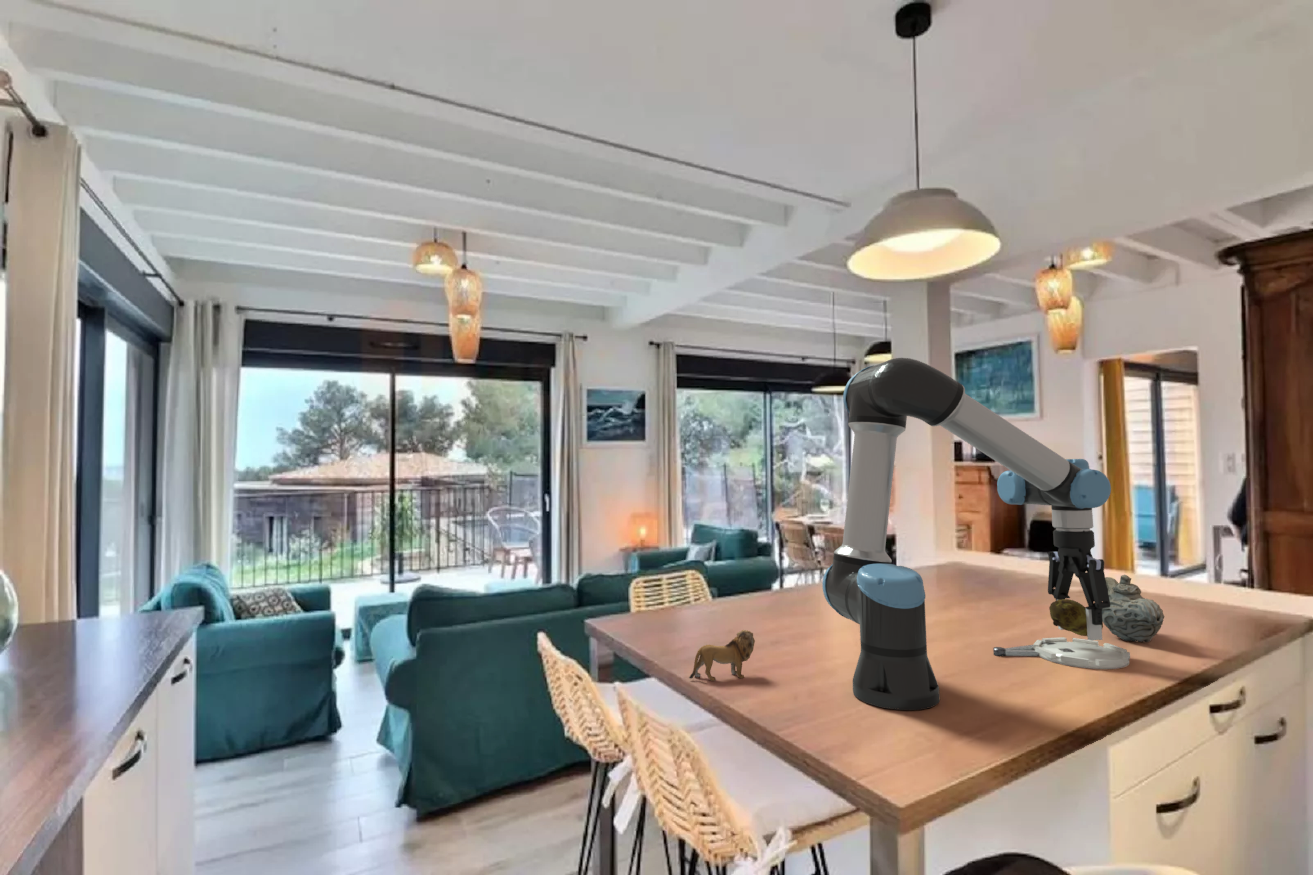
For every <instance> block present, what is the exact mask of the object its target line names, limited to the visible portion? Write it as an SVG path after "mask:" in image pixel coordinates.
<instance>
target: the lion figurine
mask: <svg viewBox="0 0 1313 875" xmlns="http://www.w3.org/2000/svg"><path fill="white" fill-rule="evenodd" d="M755 642H756V640H755V638H754V633H753V632H751V631H750V630H746V629H742V630H741V631H739V632H737V633H736V636H735V637H734V638H732V639H731V641H729V642H728V643H727V644H726V645H714V644H705V645H703V646H701V647H700V648H699V649H698V650H697V652H696V654H695V657H694V658H695V659H694V661H693V663H694V664H693V670H692V673H691V674H690V676H689V677H688V679H693V678H694V677H696V678H699V677H701V675H702V674H701V673H700V672H698V671H699V670H700V668H701V667H703V666H705V672H704V673H705V675H706V676H707V678H708V680H709V681H713V682H714V681H716V676H712V673H711V670H712V667H713V664H714V662H715V663H718V664H720V665H727V664H728V665H729V664H730V673H731V674H732V675H733V676H734V675H737V677H738V678H739V679H744V678H745V675H744V674H742V669H743V662H747V661H748V660H749V659H750V658H751V655H752V653H753V651H754V647H755Z"/></svg>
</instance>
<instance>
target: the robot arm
mask: <svg viewBox="0 0 1313 875" xmlns="http://www.w3.org/2000/svg"><path fill="white" fill-rule="evenodd" d="M842 398H843V405H844V408H845V410H847V412H848V414H849V415H848V425H847V426H848V427H849V428H850V429H851V431H852V432H853V434H854V437H853V444H852V445H853V446H852V453H851V454H852V455H851V463H850V464H851V465H850V472H849V473H850V474H849V480H848V492H847V501H846V507H845V508H846V509H845V520H844V527H843V528H844V529H843V537H842V544H841V545H840V546H839V547H838V548H836V549H835V550H834V551H833V558H832V564H831V565H829V567H827V569H826V571H825V573H824V575H823V578H822V582H821V583H822V586H821V587H822V592H823V596H824V598H825V600H826V602H827V604H828V605H829V606H830V607H831V609H833V611H835V613H837V614H839V615H840V616H841V617H842V618H845V619H847V620H851V621H852V622H854V623H856V624H858V626H859V636H860V637H859V640H860V651H859V652H860V654H859V656H858V659H857V663H856V666H855V669H854V674H853V677H852V693H853V695H854V697H856V698H857V699H859V701H861V702H864V703H866V704H869V705H872V706H874V707H879V708H884V709H889V710H890V709H891V710H896V711H897V710H898V711H899V710H900V711H918V710H919V711H920V710H924V709H929V708H932V707H934V706H936V705H938V704H939V703H940V700H941V699H940V698H941V697H940V686H939V684H938V681H937V677H936V675H935V673H934V670H933V667H932V665H931V663H930V659H929V657H928V650H927V648H928V647H927V646H928V645H927V625H926V624H927V623H926V620H927V619H926V602H925V601H926V600H925V599H926V592H925V591H926V590H925V587H924V580H923V577H922V576H921V574H920V573H919V572H917V571H916V570H914V569H912V568H909V567H907V566H904V565H896V564H893V563H892V558H891V557H890V556H889V555H888V553H887V552H886V544H887V543H886V542H887V534H888V526H889V514H890V507H891V506H890V504H891V498H892V497H891V496H892V488H893V478H894V470H895V459H896V448H897V439H898V437H899V436H900V435H902V434H903V433H904V432H905V431H906V428H907V418H908V417H909V418H910V417H911V418H914V419H918V420H920V421H923V422H924V423H925V424H927V425H929V426H931V427H939V426H941V428H943V429H945V430H947V431H948V432H950V433H952V434H953V435H955V436H956V437H958V438H959V439H961V440H963V442H965V443H967V444H968V445H970V446H972V447H974V448H975V449H976V450H978V451H980V452H981V453H983V454H984V455H986V456H987V457H989V458H990V459H992V460H993V461H995V462H997V463H998V464H1000V465H1002V466H1003V467H1005V468H1006V469H1008V470H1005V471H1003V472H1002V473H1001V474H1000V475H999V477H998V479H997V482H996V485H997V494H998V496H999V498H1000V499H1001V501H1003V503H1004V504H1005V503H1006V504H1008V505H1018V506H1022V505H1038V506H1039V505H1040V506H1050V507H1051V524H1052V527H1053V528H1054V529H1053V531H1052V534H1053V535H1052V538H1053V545H1054V547H1057V548H1058V551H1048V553H1047V556H1048V561H1049V563H1048V564H1049V566H1048V579H1047V580H1048V581H1047V582H1048V583H1047V593H1048V594H1049V595H1052V596H1053V598H1054V599H1055V601H1057V600H1060V599H1070V598H1071V596H1070V595H1069V594H1070V593H1069V592H1070V588H1071V584H1072V582H1073V577H1074V575H1075V577H1076V578H1077V579H1078V580H1079V583H1080V587H1081V589H1082V592H1083V594H1084V597H1085V600H1086V603H1087V606H1086V622H1087V636H1086V638H1087V640H1093V641H1103V628H1102V623H1103V619H1102V609H1103V608H1109V607H1110V600H1109V595H1108V590H1107V585H1106V580H1105V578H1106V576H1105V560H1104V559H1102V558H1100V559H1097V558H1094V557H1093V555H1092V549H1094V547H1095V546H1096V545H1095V543H1096V542H1095V532H1094V531H1093V530H1091V529H1093V528H1094V517H1093V516H1094V515H1093V509H1096V508H1099V507H1102V506H1103V505H1105V504H1106V502H1108V499H1109V498H1110V496H1111V492H1112V486H1111V482H1110V480H1109V478H1108V477H1107V475H1106V474H1105V473H1103V472H1102V471H1101V470H1097V469H1091V468H1090V463H1089V462H1088V460H1086V459H1085V458H1065V457H1063V456H1061V455H1060V454H1058V453H1057V452H1055V451H1053V450H1052V449H1051V448H1049V447H1048V446H1046V445H1045V444H1044V443H1042V442H1040V441H1038V440H1037V439H1035V438H1034V437H1032V436H1031V435H1030V434H1028V433H1026V432H1025V431H1024V430H1022V429H1021V428H1018V427H1017V426H1015V425H1014V424H1013V423H1011V422H1009V421H1008V420H1007V419H1005V418H1003V417H1002V416H1001V415H999V414H997V413H995V412H994V411H993V410H991V409H989V408H988V407H987V406H985V405H983V403H980V402H979V401H977V400H976V399H974V398H972V397H971V396H970V395H968V394H966V388H965V386H964V385H963V384H962V383H960V382H959V381H957V380H955V379H954V378H952V377H951V376H949V375H948V374H946V373H944V372H943V371H941V370H939V369H937V368H935V367H933V366H931V365H929V364H927V363H926V362H923V361H920V360H917V359H914V358H910V357H895V358H891V359H889V360H887V361H886V360H885V361H884V362H881V363H879V364H876V365H870V366H867V367H865V368H862V369H861V370H859V371H858V372H856V373H855V374H853V375H852V376H851V377H850V379H849V380H848V381H847V383H846V385H845V387H844V391H843V396H842ZM1103 624H1104V623H1103ZM1057 627H1058V628H1057V629H1058V630H1060V631H1063V630H1064V629H1063V628H1061V627H1059V626H1057Z"/></svg>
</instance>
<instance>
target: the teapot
mask: <svg viewBox="0 0 1313 875" xmlns="http://www.w3.org/2000/svg"><path fill="white" fill-rule="evenodd" d="M1105 580H1106V585H1107V590H1108V595H1109V600H1110V607H1109V608H1103V609H1102V619H1103V626H1105V627H1106V628H1107V629H1108V630H1109V631H1110V633H1112V635H1114V636H1116V637H1118V638H1119V639H1121V640H1122V641H1125V642H1135V643H1136V642H1138V643H1149V642H1151V640H1152V639H1153V638H1154V637H1155V636H1156V635H1157V634H1158V633H1159V631H1160V630H1161V628H1162V625H1163V622H1164V619H1165V614H1164V611H1163V609H1162V608H1161V606H1160V604H1158V603H1157V602H1156V601H1154V600H1153V599H1151V598H1150V599H1149V598H1145V597H1143V596H1142V595H1141V593H1142V590H1141V587H1139V586H1138V585H1137V584H1134V583H1131V580H1132V578H1131V577H1130V576H1128V575H1126V574H1122V575H1120V580H1119V582H1118V580H1116V579H1115V578H1113V577H1110V576H1105Z"/></svg>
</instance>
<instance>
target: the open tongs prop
mask: <svg viewBox="0 0 1313 875" xmlns="http://www.w3.org/2000/svg"><path fill="white" fill-rule="evenodd" d="M1042 643H1043V644H1046V643H1048V642H1043V641H1042ZM1052 644H1056V643H1053V642H1052ZM1052 644H1049V643H1048V644H1047V645H1052ZM1059 650H1061V651H1062V650H1063V652H1067V651H1069V652H1073V650H1071V649H1068V650H1067V649H1066V648H1065V649H1064V648H1062V649H1061V648H1060V649H1059ZM1064 650H1065V651H1064ZM992 651H993V656H996V657H1039V653H1038V652H1037V651H1035V649H1033V644H1028V645H1021V646H1014V647H1013V646H1012V647H1001V646H994V647H992Z"/></svg>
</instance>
